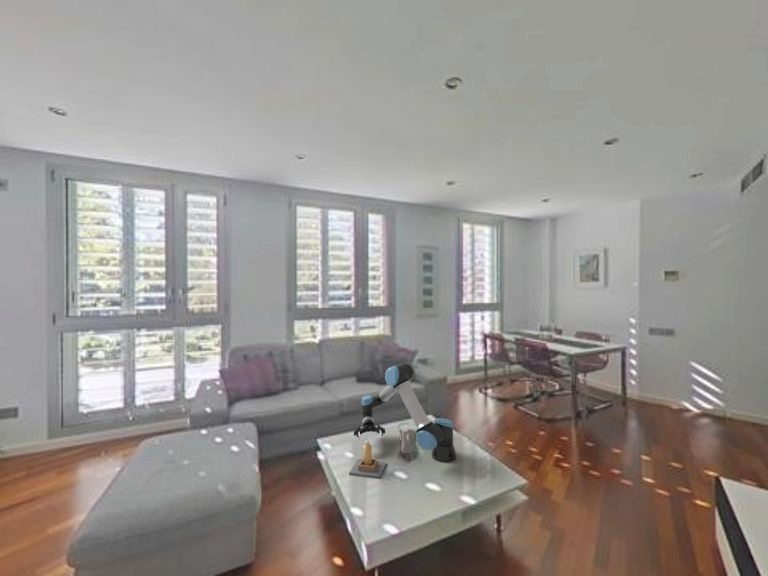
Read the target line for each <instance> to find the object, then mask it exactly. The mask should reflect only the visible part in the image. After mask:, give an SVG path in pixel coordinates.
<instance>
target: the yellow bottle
mask: <svg viewBox="0 0 768 576" xmlns="http://www.w3.org/2000/svg"><path fill="white" fill-rule="evenodd" d="M372 447H373V446H372V443H370V440H365V441H364V443H363V445H362V453H363V454H362V455H363V456H362V459H363V465H367V466H372V459H373V457H372V455H373V454H372V453H373V450H372Z"/></svg>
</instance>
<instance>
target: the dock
mask: <svg viewBox="0 0 768 576" xmlns="http://www.w3.org/2000/svg"><path fill="white" fill-rule="evenodd" d="M386 466H387V462H385V461H379V459H378V458H372V466H367V465H363V458H362V459H360V458H358V459H357V461H356V462H355V463H354V464H353V466H352V468H351V470H350V471H349V476H356V477H357V476H359V477H365V478H375V479H380V478H381V476H382V474H383V472H384V470H385V468H386Z"/></svg>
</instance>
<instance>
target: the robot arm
mask: <svg viewBox="0 0 768 576" xmlns="http://www.w3.org/2000/svg"><path fill="white" fill-rule="evenodd" d="M415 375H416V374H415V369H414V367H413V365H412V364H410V363H407V362H406V363H401V364H397V365H393V366H390V367H389V368H387V369H386V371H385V374H384V379H385V382H386V384H387V385H386V386H385V387H384V388H383V389H382V390H381V391H380V392H379V393H378V394H377V395H376V396H371V395H363V397H361V420H362V426H361V425H359V426H358V427H357V428H356V429H355V430H354V431H353V436H356V438H358V441H361V435H362V434H364V433H370V432H373V433H377V434H379V437H380V439H381V440H382V439H383V436H384V434H386V429H385V428H384V427H383V426H380V425H379V424H377V425H375V421H374V415H373V414H374V411H373V410H374V409H376V408H378V407H381V406H384V405H386V404H387V403H388V401H389V399H390V398H391V397H392V396H393V395H394V394H396V393H398V394H399V396H400V398H401V400H402V402H403V403H404V407H405V408H406V409H407V411H408V413H409V415H410V417H411V419H412V421H413V422H414V425H415V427H416V428H415V432H416V438H415V439H416V442H417V444H418V446H419V447H420V448H421V449H423V450H425V451H431V457H432V459H434V460H435V461H437V462H441V463H450V462H454V461H455V460H456V459H457V451H456V448H455V445H454V426H453V422H452V420H450V419H449V418H444V417H443V418H442V417H438V418H434V420H430V419H429V417H428V416H427V414H426V412H425V410H424V408H423V407H422V405H421V403H420V401H419V400H418V397H417V395H416V394H415V392H414V390H413V389H412V386H411V380H413V378H414V377H415Z"/></svg>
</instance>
